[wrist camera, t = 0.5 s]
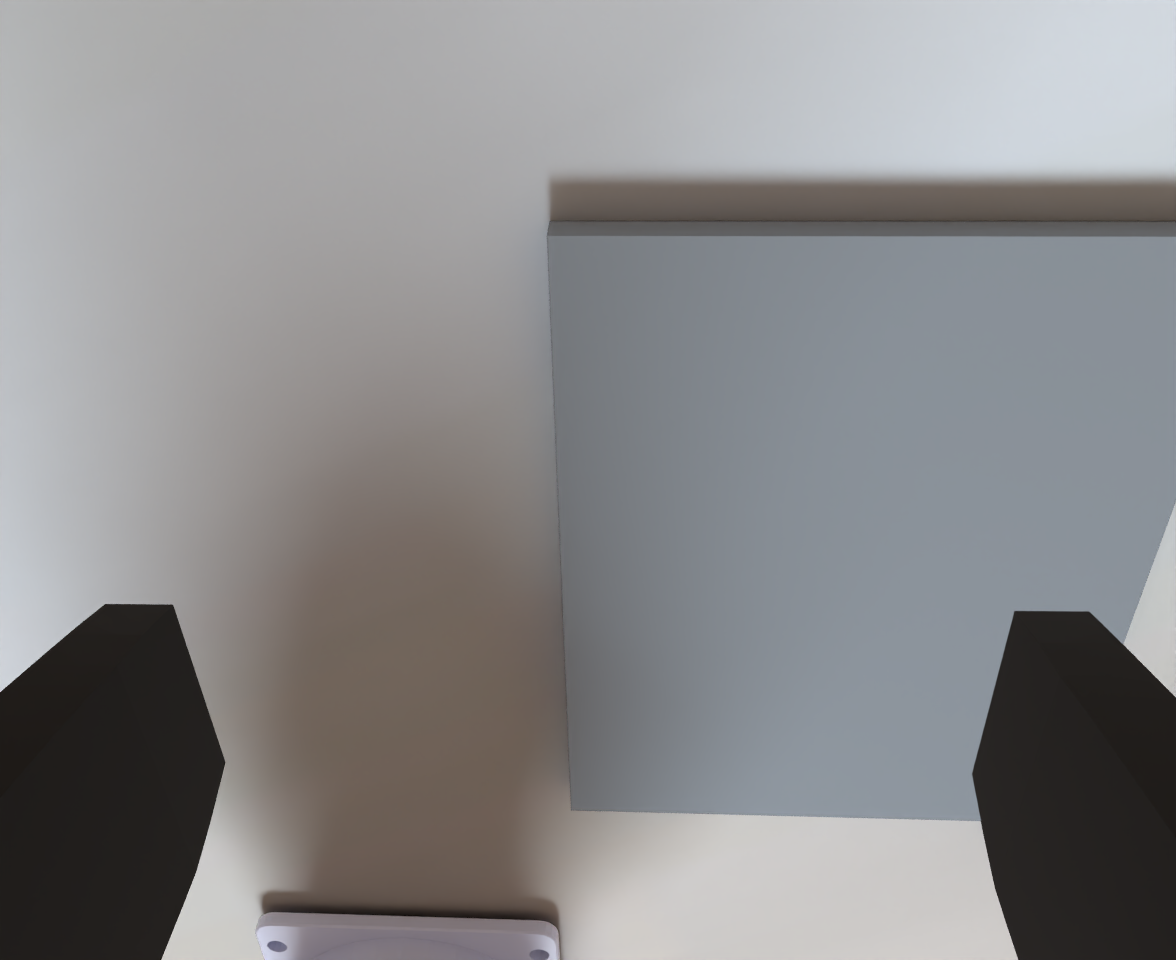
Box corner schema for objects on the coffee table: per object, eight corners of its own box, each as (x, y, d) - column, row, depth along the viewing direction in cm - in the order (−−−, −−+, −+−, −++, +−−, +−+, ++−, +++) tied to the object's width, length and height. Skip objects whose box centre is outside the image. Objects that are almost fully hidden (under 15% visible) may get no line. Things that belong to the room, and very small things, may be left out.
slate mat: (1049, 801, 25) (1057, 823, 24) (572, 789, 25) (571, 810, 25) (1255, 221, 17) (1272, 237, 16) (549, 221, 17) (547, 236, 17)
